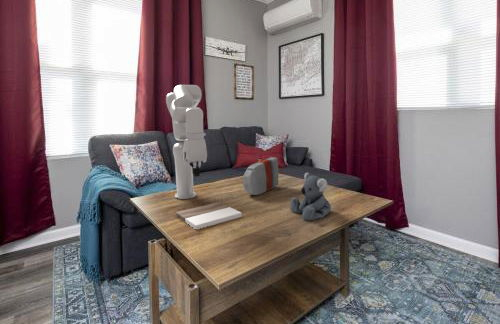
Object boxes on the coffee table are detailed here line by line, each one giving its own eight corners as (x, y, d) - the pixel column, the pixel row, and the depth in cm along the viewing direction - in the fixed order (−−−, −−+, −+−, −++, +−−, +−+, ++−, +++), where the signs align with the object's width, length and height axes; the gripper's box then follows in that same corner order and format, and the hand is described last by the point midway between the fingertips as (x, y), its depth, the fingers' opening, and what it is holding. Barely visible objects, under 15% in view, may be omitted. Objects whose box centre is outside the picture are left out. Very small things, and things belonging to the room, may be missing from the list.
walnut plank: (175, 216, 138) (175, 212, 137) (218, 205, 152) (218, 202, 152) (184, 222, 130) (184, 218, 129) (229, 210, 144) (229, 206, 144)
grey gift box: (270, 156, 186) (240, 167, 163) (279, 156, 182) (249, 168, 159) (272, 184, 190) (242, 199, 168) (280, 186, 186) (251, 201, 164)
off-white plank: (185, 222, 129) (185, 218, 129) (229, 210, 144) (229, 207, 144) (195, 229, 122) (195, 225, 121) (241, 216, 136) (241, 212, 136)
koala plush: (287, 210, 144) (288, 172, 141) (318, 205, 150) (319, 169, 147) (306, 222, 128) (307, 179, 125) (339, 216, 134) (341, 176, 131)
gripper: (205, 134, 137) (206, 171, 141) (175, 136, 128) (177, 176, 132) (213, 135, 131) (214, 174, 135) (183, 138, 122) (185, 180, 126)
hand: (196, 175), depth 133 cm, fingers closed
